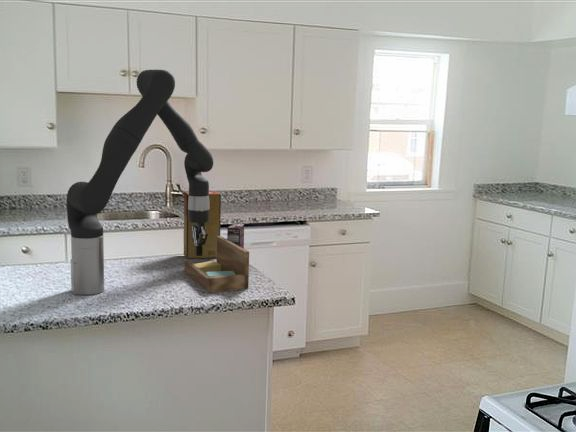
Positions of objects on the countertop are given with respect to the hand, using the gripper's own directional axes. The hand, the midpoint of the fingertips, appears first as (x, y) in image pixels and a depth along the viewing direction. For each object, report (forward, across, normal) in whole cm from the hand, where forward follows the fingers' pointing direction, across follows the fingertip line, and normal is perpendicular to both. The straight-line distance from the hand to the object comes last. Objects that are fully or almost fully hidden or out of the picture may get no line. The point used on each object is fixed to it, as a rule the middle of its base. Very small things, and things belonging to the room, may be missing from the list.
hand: (198, 255), depth 209 cm
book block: (+5, +23, 0) cm, 24 cm away
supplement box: (+5, +6, +12) cm, 14 cm away
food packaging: (+5, -17, +7) cm, 19 cm away
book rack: (+4, +17, 0) cm, 18 cm away
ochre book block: (+5, +8, 0) cm, 9 cm away
